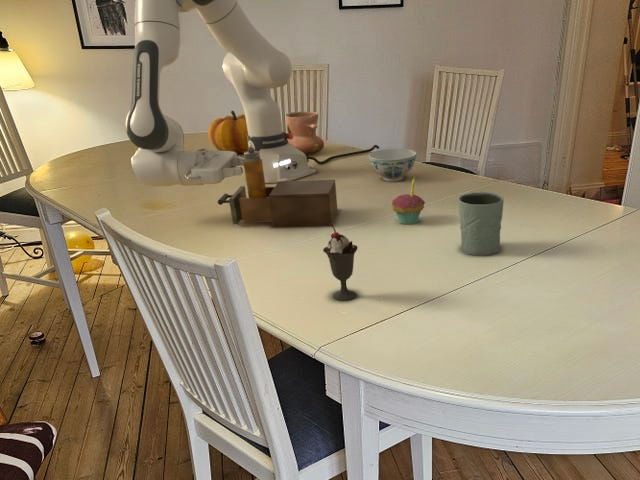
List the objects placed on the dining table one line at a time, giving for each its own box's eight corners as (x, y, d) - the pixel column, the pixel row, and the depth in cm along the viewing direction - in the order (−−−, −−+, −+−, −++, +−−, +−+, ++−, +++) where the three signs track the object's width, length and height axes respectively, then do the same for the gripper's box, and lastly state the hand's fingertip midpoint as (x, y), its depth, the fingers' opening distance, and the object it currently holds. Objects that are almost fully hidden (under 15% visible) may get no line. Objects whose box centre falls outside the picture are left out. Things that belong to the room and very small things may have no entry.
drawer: (217, 225, 172) (213, 199, 168) (229, 210, 183) (225, 186, 179) (287, 223, 171) (284, 197, 167) (295, 208, 181) (292, 184, 178)
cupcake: (428, 217, 172) (427, 172, 166) (419, 228, 165) (418, 180, 159) (397, 215, 175) (396, 170, 169) (387, 225, 168) (385, 179, 162)
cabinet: (272, 227, 171) (268, 195, 166) (282, 211, 182) (278, 181, 178) (331, 226, 170) (328, 193, 165) (337, 210, 181) (335, 179, 177)
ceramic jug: (334, 153, 244) (330, 113, 236) (301, 160, 236) (297, 119, 229) (307, 146, 256) (303, 108, 249) (276, 153, 248) (271, 113, 241)
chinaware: (362, 183, 205) (361, 158, 201) (380, 171, 217) (379, 147, 213) (407, 186, 200) (406, 160, 196) (423, 173, 211) (422, 149, 208)
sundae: (327, 290, 134) (320, 219, 126) (359, 288, 134) (355, 217, 127) (327, 304, 128) (320, 231, 121) (361, 301, 128) (356, 228, 121)
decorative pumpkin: (202, 156, 248) (194, 115, 241) (232, 144, 266) (226, 105, 258) (247, 158, 242) (241, 116, 234) (276, 145, 259) (271, 106, 252)
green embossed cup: (490, 259, 144) (492, 206, 138) (449, 252, 149) (450, 201, 143) (508, 245, 152) (511, 194, 146) (469, 239, 157) (470, 189, 151)
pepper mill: (262, 208, 179) (253, 143, 170) (272, 212, 176) (263, 146, 167) (247, 213, 176) (237, 147, 167) (257, 216, 173) (247, 149, 164)
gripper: (179, 165, 160) (234, 163, 159) (203, 147, 178) (253, 145, 177) (184, 191, 163) (238, 189, 162) (207, 170, 181) (256, 168, 180)
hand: (246, 166), depth 170 cm, fingers open, 8 cm apart
